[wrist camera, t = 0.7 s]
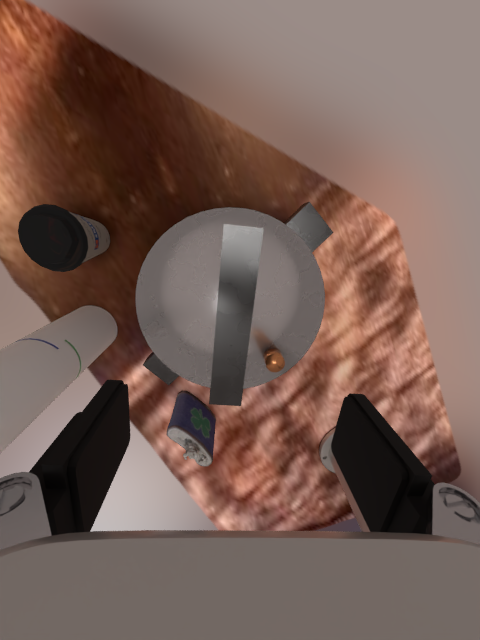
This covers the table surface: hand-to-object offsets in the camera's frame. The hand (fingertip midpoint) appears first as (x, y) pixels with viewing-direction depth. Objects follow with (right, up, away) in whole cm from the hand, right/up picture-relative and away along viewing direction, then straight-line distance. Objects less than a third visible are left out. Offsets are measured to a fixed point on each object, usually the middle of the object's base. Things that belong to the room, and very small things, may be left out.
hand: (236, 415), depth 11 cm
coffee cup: (-20, +16, +25) cm, 36 cm away
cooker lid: (-1, +6, +16) cm, 17 cm away
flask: (-8, -12, +35) cm, 38 cm away
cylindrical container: (-23, +3, +29) cm, 37 cm away
